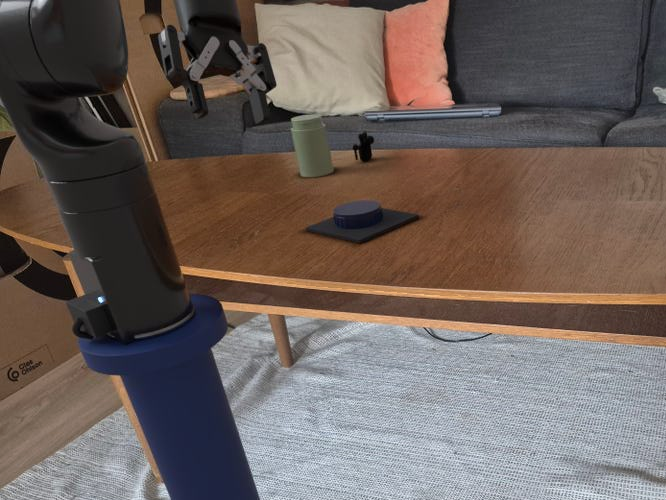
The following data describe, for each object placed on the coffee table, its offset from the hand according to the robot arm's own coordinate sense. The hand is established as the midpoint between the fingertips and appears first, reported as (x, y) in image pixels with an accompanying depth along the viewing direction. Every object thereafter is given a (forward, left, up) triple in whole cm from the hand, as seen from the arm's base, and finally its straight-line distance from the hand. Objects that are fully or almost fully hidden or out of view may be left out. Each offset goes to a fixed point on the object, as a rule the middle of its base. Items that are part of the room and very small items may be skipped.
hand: (233, 119), depth 86 cm
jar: (+25, +18, -15) cm, 34 cm away
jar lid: (+8, -12, -13) cm, 19 cm away
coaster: (+8, -12, -15) cm, 21 cm away
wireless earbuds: (+35, +16, -15) cm, 42 cm away
